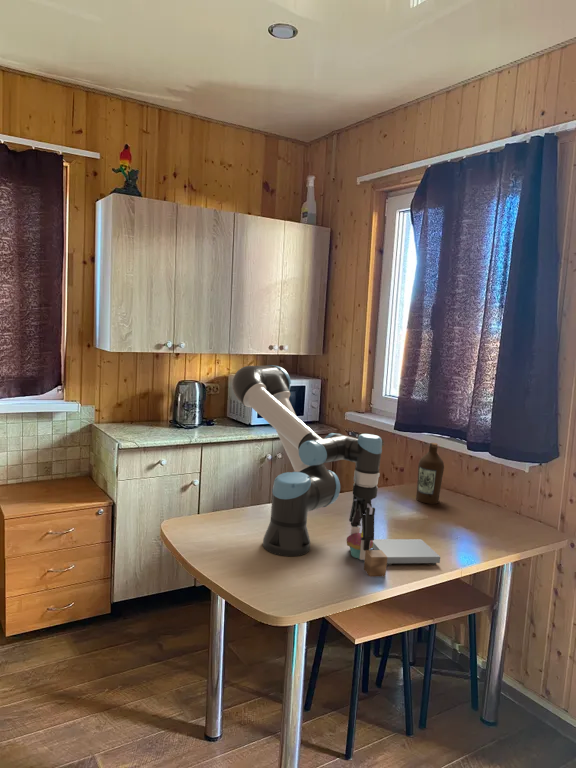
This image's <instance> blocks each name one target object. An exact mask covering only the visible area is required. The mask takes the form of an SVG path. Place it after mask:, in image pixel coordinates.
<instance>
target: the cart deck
mask: <svg viewBox="0 0 576 768" xmlns="http://www.w3.org/2000/svg"><path fill="white" fill-rule="evenodd" d="M371 549H372V550H382V551H383V553H384V554H385V555H386V556H387V566H386V567H389V566H390V567H391V566H392V564H429V565H430V566H437V564H440V562H441V556H440V555H439V554H438V553H437V552H436V551H435V550H434V549H433V548H432V547H431V546H430V545H428V543H426V542H425V541H424V540H423V539H421V538H420V539H417V538H415V539H414V538H413V539H409V538H406V539H399V538H398V539H397V538H393V539H392V538H391V539H388V538H386V539H385V538H384V539H383V538H381V539H380V538H374V540H373V547H372V548H371Z"/></svg>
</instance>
